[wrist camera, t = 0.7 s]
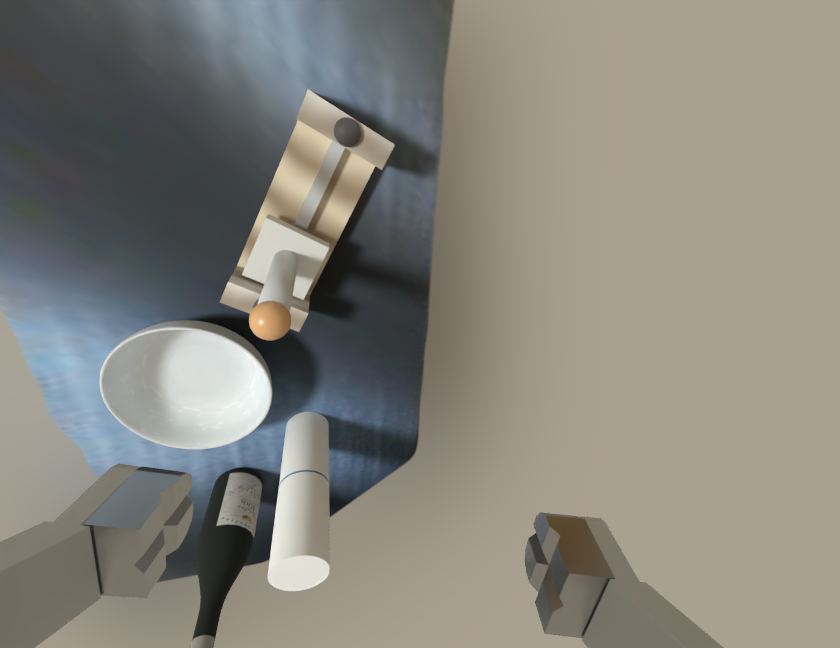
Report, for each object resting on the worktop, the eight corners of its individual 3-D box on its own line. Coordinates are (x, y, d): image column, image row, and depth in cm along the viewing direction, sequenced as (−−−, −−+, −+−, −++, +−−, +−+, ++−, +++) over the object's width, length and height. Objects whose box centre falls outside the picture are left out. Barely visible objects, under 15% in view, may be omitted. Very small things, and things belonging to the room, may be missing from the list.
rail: (310, 91, 45) (308, 89, 39) (386, 139, 49) (395, 145, 43) (231, 280, 53) (218, 303, 47) (301, 308, 58) (298, 333, 51)
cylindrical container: (316, 405, 67) (311, 547, 45) (335, 432, 70) (339, 575, 49) (278, 422, 67) (255, 572, 45) (299, 448, 70) (287, 597, 49)
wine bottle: (239, 458, 69) (188, 669, 43) (272, 479, 73) (243, 684, 47) (205, 482, 70) (135, 702, 44) (240, 502, 74) (194, 713, 48)
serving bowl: (103, 303, 52) (75, 329, 46) (272, 303, 56) (265, 326, 50) (141, 423, 61) (121, 456, 56) (281, 414, 66) (277, 444, 60)
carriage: (268, 213, 48) (237, 272, 31) (329, 243, 51) (330, 310, 34) (244, 269, 50) (204, 350, 34) (304, 293, 54) (294, 379, 37)
